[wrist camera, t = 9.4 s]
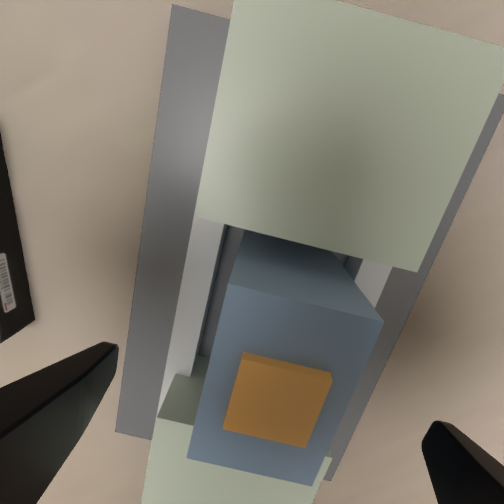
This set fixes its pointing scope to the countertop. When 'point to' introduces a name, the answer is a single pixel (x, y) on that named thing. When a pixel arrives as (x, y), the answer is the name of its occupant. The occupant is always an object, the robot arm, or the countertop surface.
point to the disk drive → (11, 264)
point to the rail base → (292, 196)
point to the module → (282, 360)
